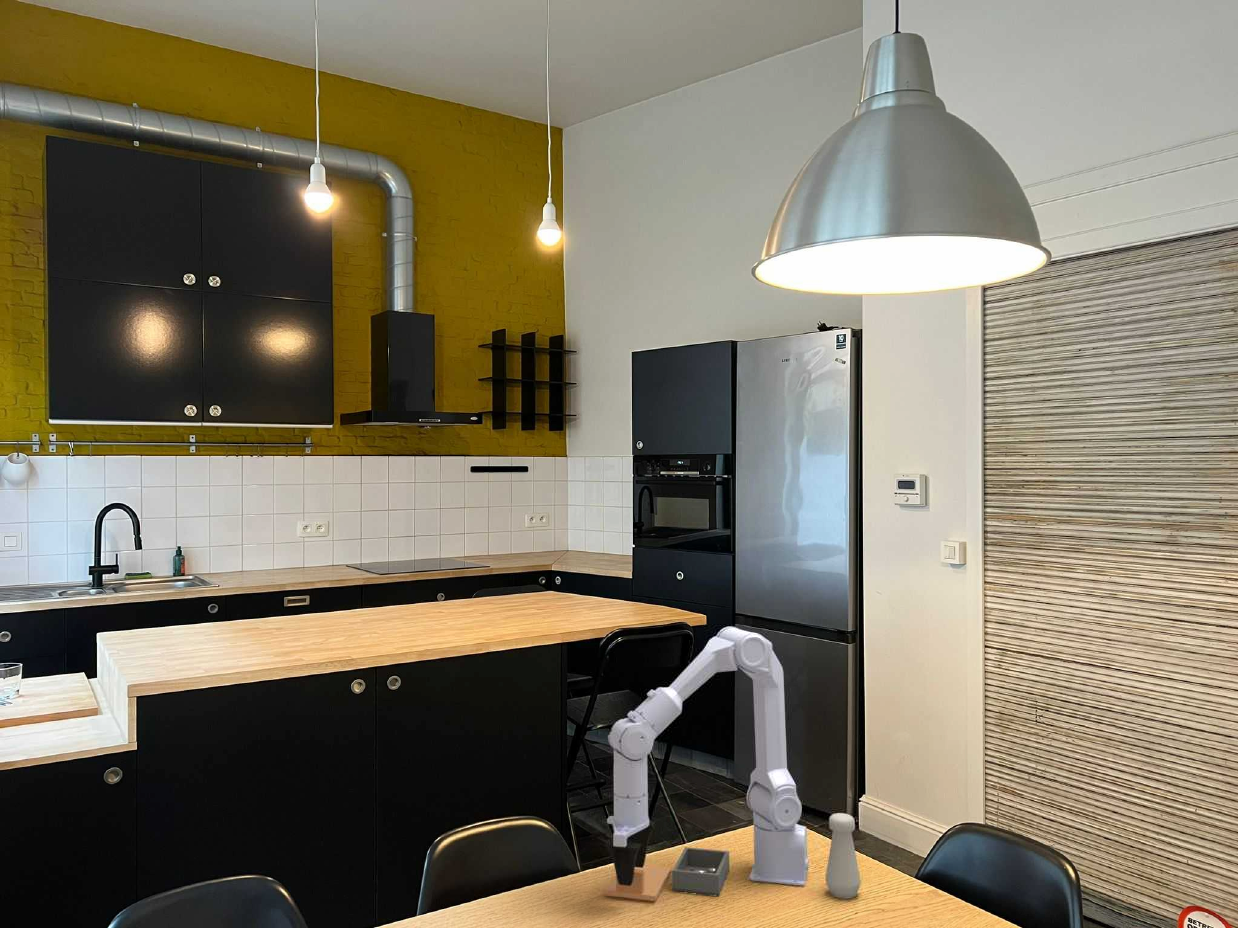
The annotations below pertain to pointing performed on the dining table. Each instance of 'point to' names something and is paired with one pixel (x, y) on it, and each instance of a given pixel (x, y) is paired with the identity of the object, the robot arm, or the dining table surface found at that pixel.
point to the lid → (640, 884)
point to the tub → (700, 871)
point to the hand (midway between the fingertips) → (631, 875)
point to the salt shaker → (842, 858)
